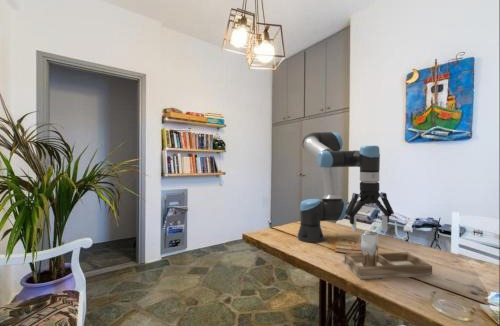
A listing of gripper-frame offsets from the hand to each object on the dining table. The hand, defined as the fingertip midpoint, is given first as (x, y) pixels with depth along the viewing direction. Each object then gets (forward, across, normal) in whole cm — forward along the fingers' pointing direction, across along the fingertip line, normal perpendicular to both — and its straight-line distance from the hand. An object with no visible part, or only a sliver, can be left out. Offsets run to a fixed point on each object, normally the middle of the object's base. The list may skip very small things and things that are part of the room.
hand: (369, 231), depth 103 cm
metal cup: (+16, 0, -1) cm, 16 cm away
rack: (+17, +7, -1) cm, 18 cm away
